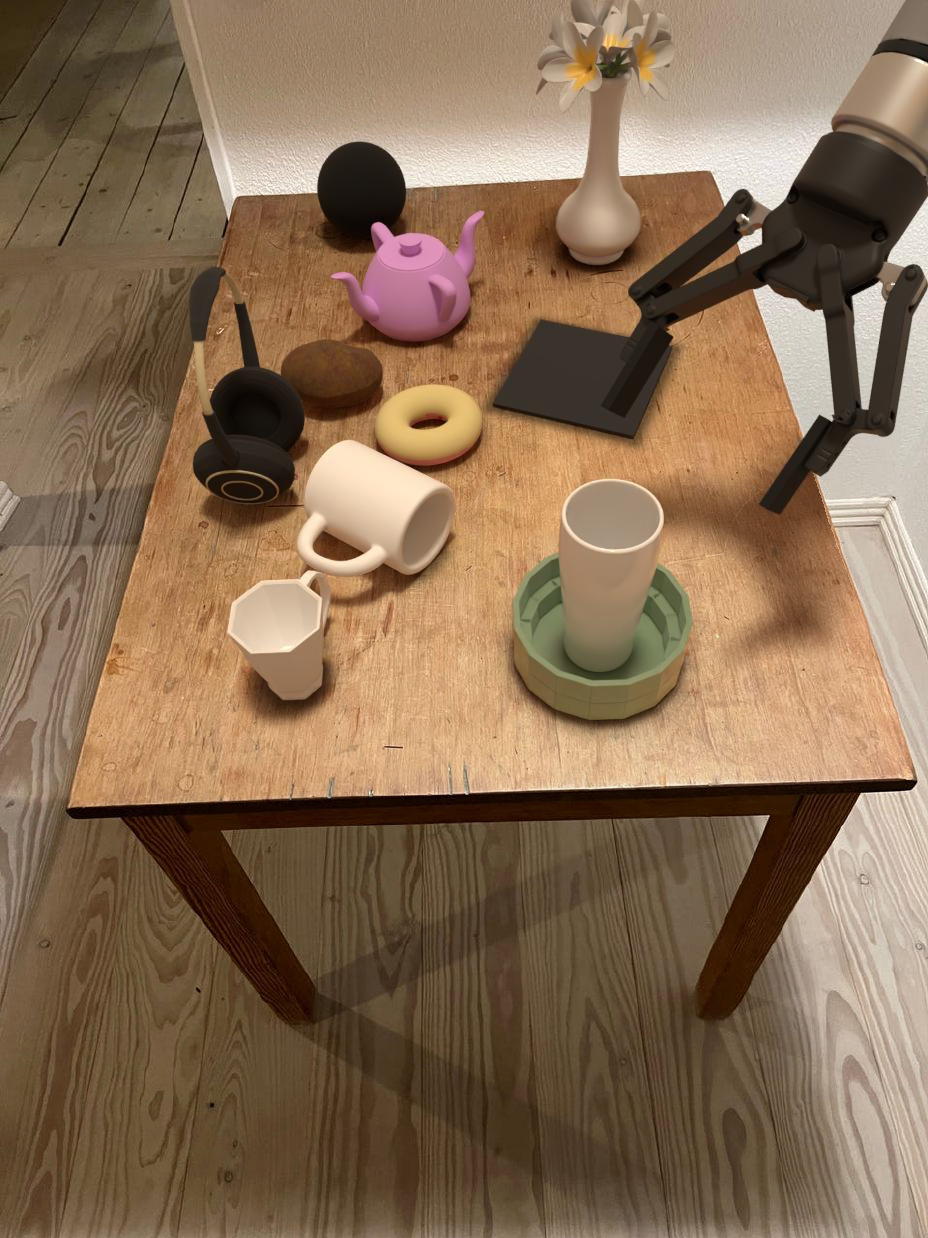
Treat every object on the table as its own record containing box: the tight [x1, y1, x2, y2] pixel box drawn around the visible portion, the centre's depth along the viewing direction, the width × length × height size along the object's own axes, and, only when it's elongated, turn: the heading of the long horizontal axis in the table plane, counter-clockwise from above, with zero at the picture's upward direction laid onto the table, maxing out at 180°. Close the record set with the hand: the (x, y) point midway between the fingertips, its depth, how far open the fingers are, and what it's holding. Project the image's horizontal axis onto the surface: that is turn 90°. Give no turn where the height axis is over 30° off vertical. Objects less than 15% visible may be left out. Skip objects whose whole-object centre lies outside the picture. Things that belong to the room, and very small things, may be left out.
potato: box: [280, 338, 384, 409], centre depth 90 cm, size 7×10×6 cm
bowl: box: [512, 551, 694, 721], centre depth 71 cm, size 13×13×5 cm
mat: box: [492, 319, 673, 440], centre depth 93 cm, size 14×14×1 cm
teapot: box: [330, 210, 485, 343], centre depth 97 cm, size 12×14×9 cm
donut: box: [374, 383, 484, 466], centre depth 88 cm, size 10×5×9 cm
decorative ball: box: [316, 141, 407, 240], centre depth 107 cm, size 10×10×10 cm
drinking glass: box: [558, 478, 665, 672], centre depth 67 cm, size 7×7×15 cm
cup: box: [226, 570, 332, 701], centre depth 71 cm, size 7×10×8 cm
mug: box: [296, 439, 457, 578], centre depth 77 cm, size 12×10×8 cm
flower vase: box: [535, 0, 677, 266], centre depth 96 cm, size 13×18×25 cm
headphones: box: [188, 266, 306, 505], centre depth 79 cm, size 9×15×20 cm, turn 179°
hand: (686, 459), depth 64 cm, fingers open, 13 cm apart
